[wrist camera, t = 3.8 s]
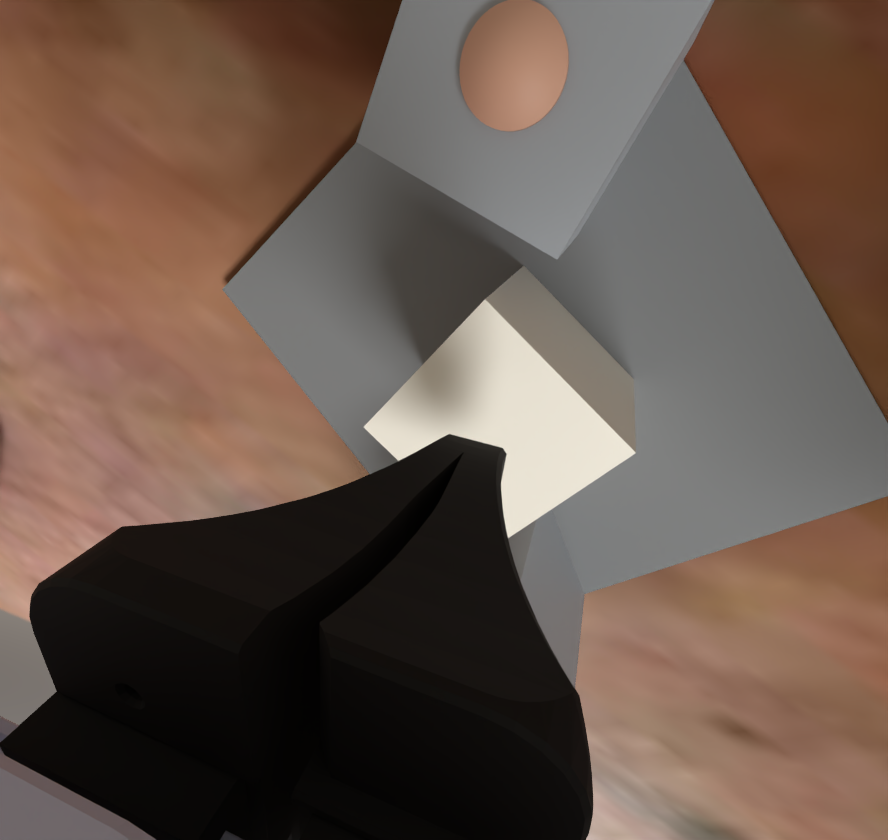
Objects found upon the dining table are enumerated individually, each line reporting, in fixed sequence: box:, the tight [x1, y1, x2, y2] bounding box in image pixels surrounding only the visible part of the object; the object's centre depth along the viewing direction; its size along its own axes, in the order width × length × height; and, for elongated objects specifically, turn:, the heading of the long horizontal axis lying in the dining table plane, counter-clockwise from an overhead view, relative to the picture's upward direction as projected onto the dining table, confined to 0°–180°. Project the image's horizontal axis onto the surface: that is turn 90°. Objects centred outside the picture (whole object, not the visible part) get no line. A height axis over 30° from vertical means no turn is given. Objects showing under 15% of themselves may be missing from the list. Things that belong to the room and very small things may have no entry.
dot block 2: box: [508, 509, 584, 688], centre depth 18 cm, size 5×5×5 cm
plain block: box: [364, 266, 636, 538], centre depth 15 cm, size 5×5×5 cm
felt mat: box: [222, 60, 888, 594], centre depth 17 cm, size 16×18×1 cm
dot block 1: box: [356, 0, 714, 259], centre depth 11 cm, size 5×5×5 cm
